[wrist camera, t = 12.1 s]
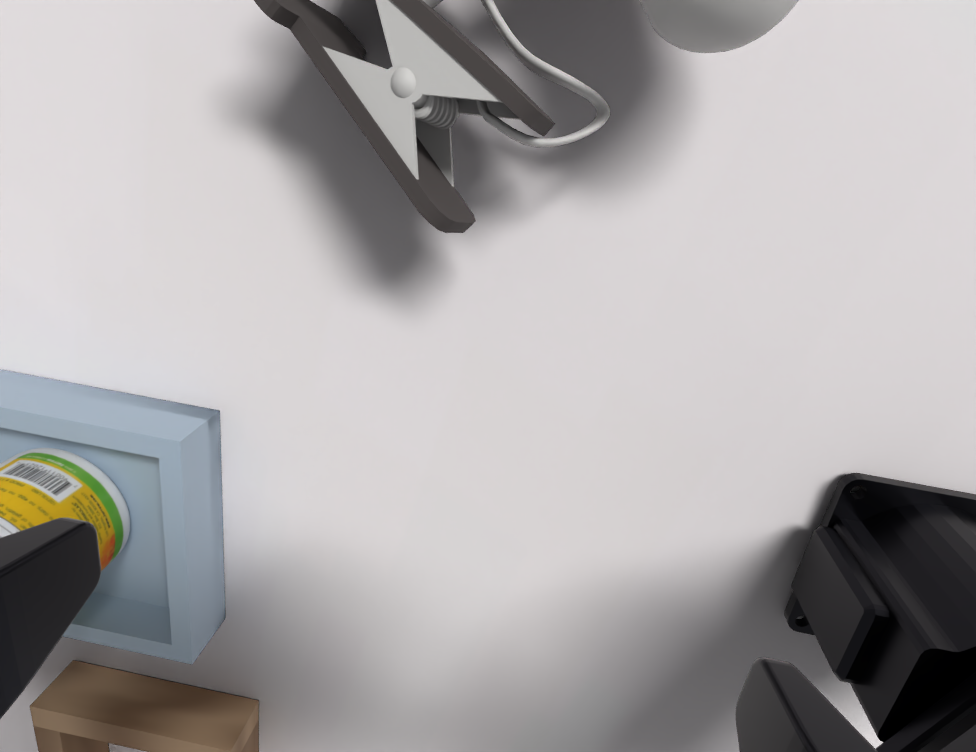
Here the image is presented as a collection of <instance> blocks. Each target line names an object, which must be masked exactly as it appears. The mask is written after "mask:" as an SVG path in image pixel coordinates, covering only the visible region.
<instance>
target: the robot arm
mask: <svg viewBox="0 0 976 752" xmlns="http://www.w3.org/2000/svg"><path fill="white" fill-rule="evenodd" d="M856 486H861V488H860V490H859V491H857V492H855V493H850V491H851V489H852V488H854V487H856ZM100 576H101V562H100V554H99V545H98V537H97V531H96V528H95V527H94V525H93V524H92V523H90V522H87V521H82V520H77V519H72V518H64V517H63V518H57V519H54V520H51V521H48V522H45V523H42V524H40V525H37V526H34V527H31V528H28V529H25V530H22V531H19V532H16V533H13V534H10V535H7V536H4V537H1V538H0V719H1V718H2V716H3V715H4V714H5V713H6V712H7V710H8V709H9V708H10V707H11V705H12V704H13V703H14V702H15V700H16V699H17V698H18V697H19V695H20V694H21V693H22V692H23V690H24V689H25V688H26V686H27V685H28V684H29V682H30V681H31V680H32V678H33V677H34V676H35V674H36V673H37V671H38V670H39V669H40V667H41V666H42V664H43V663H44V661H45V660H46V658H47V657H48V656H49V654H50V653H51V651H52V650H53V648H54V647H55V646H56V644H57V643H58V641H59V640H60V638H61V637H62V636H63V634H64V633H65V631H66V630H67V628H68V627H69V626H70V624H71V623H72V621H73V620H74V618H75V617H76V616H77V614H78V613H79V611H80V610H81V608H82V607H83V606H84V604H85V603H86V601H87V600H88V598H89V597H90V596H91V594H92V593H93V591H94V590H95V588H96V586H97V584H98V582H99V579H100ZM792 589H793V592H792V595H791V597H790V600H789V602H788V604H787V607H786V609H785V613H784V615H785V618H786V620H787V622H788V625H789V627H790V628H791V629H792V630H795V631H797V632H802V633H807V634H812V635H815V636H816V638H817V640H818V642H819V644H820V646H821V648H822V650H823V652H824V654H825V656H826V658H827V660H828V662H829V664H830V666H831V668H832V671H833V672H834V674H835V675H836V676H837V678H838V679H839V680H840V681H843V682H848V683H850V684H851V686H852V688H853V690H854V692H855V694H856V696H857V698H858V700H859V702H860V703H861V705H862V707H863V709H864V711H865V713H866V715H867V717H868V719H869V721H870V723H871V725H872V727H873V729H874V731H875V733H876V735H877V737H878V738H879V740H880V741H882V742H883V743H882V744H881V745H880V746H878V747H877V748H876V749H875V748H874V747H873V746H872V745H871V744H870V743H869V742H868V741H867V740H866V739H865V738H864V737H863V736H862V735H861V734H860V733H859V732H858V731H857V730H856V729H855V728H854V727H853V726H852V725H851V724H850V722H849V721H848V720H847V719H846V718H845V717H844V716H843V715H842V714H841V713H840V712H839V711H838V710H837V709H836V708H835V707H834V706H833V705H832V704H831V703H830V702H829V701H828V700H827V699H826V698H825V697H824V696H823V695H822V694H821V693H820V692H819V691H818V689H817V688H816V687H815V686H814V685H813V684H812V683H811V682H810V681H809V680H808V679H807V678H806V677H805V676H804V675H803V674H802V673H801V672H800V671H799V670H798V669H797V668H796V667H795V666H794V665H792V664H791V663H788V662H786V661H781V660H776V659H771V658H766V657H760V658H757V659H756V660H755V661H754V663H753V664H752V667H751V669H750V672H749V674H748V676H747V679H746V681H745V684H744V686H743V689H742V691H741V694H740V696H739V699H738V702H737V706H736V726H737V734H738V742H739V749H740V752H976V494H970V493H965V492H959V491H954V490H948V489H943V488H937V487H932V486H926V485H921V484H915V483H910V482H904V481H899V480H893V479H888V478H882V477H877V476H871V475H866V474H860V473H851V474H848V475H845V476H844V477H843V478H841V479H840V481H839V482H838V484H837V487H836V489H835V491H834V494H833V496H832V499H831V501H830V503H829V506H828V508H827V511H826V513H825V515H824V518H823V520H822V523H821V525H820V526H819V527H818V528H817V529H816V530H814V532H813V534H812V536H811V539H810V541H809V544H808V546H807V548H806V551H805V553H804V556H803V558H802V561H801V563H800V565H799V568H798V570H797V573H796V575H795V577H794V580H793V582H792ZM799 616H804V617H803V618H801V619H796V618H797V617H799Z"/></svg>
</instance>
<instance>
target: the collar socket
mask: <svg viewBox="0 0 976 752" xmlns="http://www.w3.org/2000/svg"><path fill="white" fill-rule="evenodd" d="M30 710H31V715H32V720H33V725H34V730H35V736H36V741H37V746H38V751H39V752H109V747H108V743H111V744H116V745H120V746H125V747H129V748H134V749H138V750H142V751H147V752H259V701H258V700H253V699H249V698H244V697H240V696H235V695H230V694H226V693H221V692H217V691H212V690H207V689H203V688H198V687H194V686H189V685H185V684H180V683H175V682H171V681H166V680H162V679H157V678H152V677H148V676H143V675H139V674H134V673H129V672H125V671H120V670H116V669H111V668H107V667H102V666H97V665H93V664H88V663H84V662H79V661H74V660H73V661H72V662H71V663H70V664H69V665H68V666H67V667H66V668H65V670H64V671H63V672H62V673H61V674H60V675H59V676H58V677H57V678H56V679H55V680H54V681H53V682H52V683H51V684H50V685H49V686H48V687H47V689H46V690H45V691H44V692H43V693H42V694H41V695H40V696H39V697H38V698H37V699H36V700H35V701H34V702H33V703H32V704H31V705H30Z"/></svg>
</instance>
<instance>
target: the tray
mask: <svg viewBox="0 0 976 752" xmlns="http://www.w3.org/2000/svg"><path fill="white" fill-rule="evenodd" d="M36 448H55V449H60V450H65V451H68V452H71V453H73V454H76V455H78V456H80V457H82V458H84V459H86V460H87V461H89V462H91V463H92V464H93V465H95V466H96V467H98V468H99V469H100V470H101V471H103V472H104V473H105V474H106V475H107V476H108V477H109V478H110V479H111V480H112V482H113V483H114V484H115V485H116V487H117V488H118V489H119V491H120V493H121V494H122V496H123V498H124V500H125V502H126V505H127V508H128V511H129V515H130V532H129V537H128V540H127V542H126V544H125V546H124V548H123V549H122V551H121V552H120V553H119V554H118V555H117V556H116V557H115V558H114V559H113V560H112V561H111V562H110V564H109V565H107V566H106V567H105V568H104V569H103V570H102V571H101V576H100V579H99V582H98V584H97V586H96V588H95V590H94V591H93V593H92V594H91V596H90V597H89V598H88V600H87V601H86V603H85V604H84V606H83V607H82V608H81V610H80V611H79V613H78V614H77V616H76V617H75V618H74V620H73V621H72V623H71V624H70V626H69V627H68V628H67V630H66V631H65V633H64V634H63V636H62V637H67V638H72V639H76V640H81V641H86V642H90V643H95V644H100V645H104V646H109V647H113V648H118V649H123V650H127V651H132V652H137V653H141V654H146V655H151V656H155V657H160V658H164V659H169V660H174V661H178V662H183V663H188V664H193V663H194V661H195V660H196V659H197V657H198V656H199V654H200V653H201V652H202V650H203V649H204V647H205V646H206V645H207V643H208V642H209V640H210V639H211V638H212V636H213V635H214V633H215V632H216V631H217V629H218V628H219V626H220V625H221V624H222V622H223V621H224V619H225V591H224V553H223V516H222V478H221V441H220V411H219V410H214V409H208V408H203V407H198V406H192V405H187V404H182V403H177V402H171V401H166V400H161V399H155V398H150V397H145V396H139V395H134V394H129V393H123V392H118V391H113V390H107V389H102V388H97V387H91V386H86V385H81V384H75V383H70V382H65V381H60V380H54V379H49V378H44V377H38V376H33V375H28V374H22V373H17V372H12V371H6V370H1V369H0V463H2V462H4V461H6V460H8V459H9V458H11V457H13V456H15V455H17V454H19V453H21V452H24V451H27V450H31V449H36Z"/></svg>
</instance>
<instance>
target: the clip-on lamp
mask: <svg viewBox="0 0 976 752" xmlns="http://www.w3.org/2000/svg"><path fill="white" fill-rule="evenodd" d="M254 1H255V2H256V4H257V5H258V6H259V7H260V9H261V10H262V11H263V12H264V13H265V14H266V15H267V16H268V17H270V18H271V19H272V20H274V21H275V22H277V23H279V24H281V25H283V26H285V27H287V28H289V29H290V30H291V31H292V33H293V34H294V36H295V37H296V38H297V40H298V41H299V43H300V44H301V45H302V47H303V48H304V50H305V51H306V53H307V54H308V55H309V57H310V58H311V60H312V61H313V62H314V64H315V65H316V67H317V68H318V70H319V71H320V72H321V74H322V75H323V77H324V78H325V79H326V81H327V82H328V84H329V85H330V87H331V88H332V89H333V91H334V92H335V94H336V95H337V96H338V98H339V99H340V101H341V102H342V104H343V105H344V106H345V108H346V109H347V111H348V112H349V113H350V115H351V116H352V118H353V119H354V120H355V122H356V123H357V125H358V126H359V128H360V129H361V130H362V132H363V133H364V135H365V136H366V137H367V139H368V140H369V142H370V143H371V145H372V146H373V147H374V149H375V150H376V152H377V153H378V154H379V156H380V157H381V159H382V160H383V162H384V163H385V164H386V166H387V167H388V169H389V170H390V171H391V173H392V174H393V176H394V177H395V179H396V180H397V181H398V183H399V184H400V186H401V187H402V188H403V190H404V191H405V193H406V194H407V196H408V197H409V198H410V200H411V201H412V203H413V204H414V205H415V207H416V208H417V210H418V211H419V212H420V213H421V214H422V216H423V217H424V218H425V219H426V220H427V221H428V222H429V223H430V224H431V225H433V226H434V227H435V228H437V229H438V230H440V231H443V232H445V233H463V232H465V231H466V230H467V229H468V228H469V227H470V226H471V225H472V224H473V223H474V222H475V221H476V220H475V218H474V215H473V213H472V212H471V210H470V209H469V207H468V206H467V204H466V203H465V201H464V200H463V199H462V197H461V196H460V194H459V193H458V192H457V190H456V189H455V187H454V175H453V155H452V136H451V126H452V125H453V124H454V123H455V121H456V118H457V117H459V115H460V114H468V115H478V116H483V118H484V119H485V120H486V121H487V122H488V123H490V124H491V125H493V126H494V127H495V128H497V129H498V130H499V131H501V132H502V133H504V134H505V135H507V136H508V137H510V138H511V139H513V140H516V141H518V142H520V143H522V144H524V145H529V146H533V147H537V148H540V147H556V146H560V145H564V144H568V143H572V142H575V141H577V140H580V139H582V138H584V137H587V136H588V135H590V134H592V133H593V132H595V131H597V130H598V129H600V128H601V127H602V126H603V125H604V124H605V123H606V122H607V120H608V118H609V116H610V107H609V106H608V104H607V103H606V101H605V100H604V99H603V98H602V97H601V96H600V95H599V94H598V93H597V92H596V91H594V90H593V89H591V88H590V87H588V86H587V85H586V84H584V83H582V82H581V81H579V80H577V79H576V78H574V77H572V76H570V75H569V74H567V73H565V72H563V71H561V70H559V69H557V68H555V67H553V66H551V65H549V64H547V63H545V62H544V61H542V60H540V59H539V58H537V57H535V56H534V55H533V54H531V53H530V52H529V51H528V50H527V49H526V48H524V47H523V45H522V44H521V43H520V42H519V41H518V39H517V38H516V37H515V36H514V35H513V33H512V32H511V30H510V29H509V27H508V26H507V24H506V22H505V21H504V19H503V18H502V16H501V15H500V13H499V11H498V9H497V7H496V5H495V4H494V2H493V0H481V2H482V3H483V5H484V7H485V9H486V11H487V13H488V14H489V16H490V18H491V20H492V22H493V23H494V25H495V27H496V28H497V30H498V32H499V33H500V35H501V36H502V38H503V39H504V41H505V42H506V44H507V46H508V47H509V48H510V49H511V51H512V52H513V53H514V54H515V56H516V57H517V58H518V59H519V61H521V62H522V63H523V64H524V65H525V66H526V67H527V68H528V69H529V70H531V71H533V72H534V73H536V74H538V75H539V76H541V77H543V78H545V79H547V80H550V81H552V82H554V83H556V84H558V85H561V86H563V87H565V88H567V89H569V90H571V91H573V92H575V93H577V94H579V95H580V96H582V97H584V98H585V99H587V100H588V101H589V102H591V103H592V104H593V105H594V107H595V108H596V113H597V115H596V117H595V119H594V121H593V122H591V123H590V124H589V125H588V126H586V127H585V128H583V129H581V130H579V131H577V132H574V133H572V134H569V135H567V136H562V137H558V138H537V137H533V136H530V135H526V134H524V133H522V132H520V131H518V130H516V129H514V128H512V127H511V126H509V125H508V124H506V123H505V122H503V121H502V120H500V119H499V118H508V119H518V120H522V121H523V122H524V123H525V124H526V125H528V126H529V127H530V128H531V129H533V130H534V131H536V132H537V133H539V134H541V135H542V136H545V135H546V134H547V132H548V131H549V130H550V129H551V128H552V127H553V125H554V124H555V123H554V122H553V121H552V120H551V119H550V118H549V117H548V116H547V115H546V114H545V113H544V112H543V111H542V110H541V109H540V108H539V107H538V106H537V105H536V104H535V103H534V102H533V101H532V100H531V99H530V98H529V97H528V96H527V95H526V94H525V93H524V92H523V91H522V90H521V89H520V88H519V87H518V86H517V85H516V84H515V83H514V82H513V81H512V80H511V79H510V78H509V77H508V76H507V75H506V74H505V73H504V72H503V71H502V70H501V69H500V68H499V67H498V66H497V65H496V64H494V63H493V62H492V61H491V60H490V59H489V58H488V57H487V56H486V55H485V54H484V53H483V52H482V51H481V50H480V49H478V48H477V47H476V46H475V45H474V44H473V43H471V42H470V41H469V40H468V39H467V38H466V37H464V36H463V35H462V34H461V33H460V32H459V31H458V30H456V29H455V28H454V27H453V26H452V25H451V24H449V23H448V22H447V21H446V20H445V19H444V18H442V17H441V16H440V15H439V14H438V13H437V12H436V11H434V10H433V8H434V7H435V6H437V5H438V4H439V3H440V2H442V1H443V0H376V4H377V8H378V12H379V15H380V19H381V23H382V27H383V31H384V35H385V39H386V43H387V47H388V51H389V54H390V58H391V62H392V66H393V67H390V68H389V69H385V68H382V67H380V66H377V65H374V64H371V63H368V62H365V60H364V59H363V55H364V54H365V53H366V50H365V49H364V47H363V46H362V45H361V43H360V42H359V41H358V40H357V39H356V38H355V36H354V35H353V34H352V33H351V32H350V31H349V29H348V28H347V27H346V26H345V25H344V24H343V22H342V21H341V20H340V19H339V18H337V17H336V16H334V15H333V14H331V13H329V12H328V11H326V10H325V9H323V8H321V7H320V6H318V5H316V4H315V3H313V2H311V1H310V0H254ZM639 1H640V3H641V5H642V7H643V9H644V11H645V13H646V15H647V17H648V19H649V21H650V23H651V25H652V27H653V29H654V30H655V31H656V32H657V33H658V34H659V35H660V36H661V37H662V38H664V39H665V40H666V41H667V42H669V43H670V44H672V45H674V46H676V47H678V48H680V49H684V50H687V51H691V52H698V53H715V52H725V51H729V50H732V49H736V48H739V47H742V46H744V45H746V44H748V43H750V42H752V41H754V40H756V39H758V38H759V37H761V36H763V35H764V34H766V33H767V32H768V31H770V30H771V29H772V28H773V27H774V26H775V25H777V24H778V23H779V22H780V21H781V20H782V19H783V18H784V17H785V16H786V15H787V14H788V13H789V12H790V11H791V9H792V8H793V7H794V6H795V5H796V3H797V2H798V0H639ZM497 117H498V118H497Z"/></svg>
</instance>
